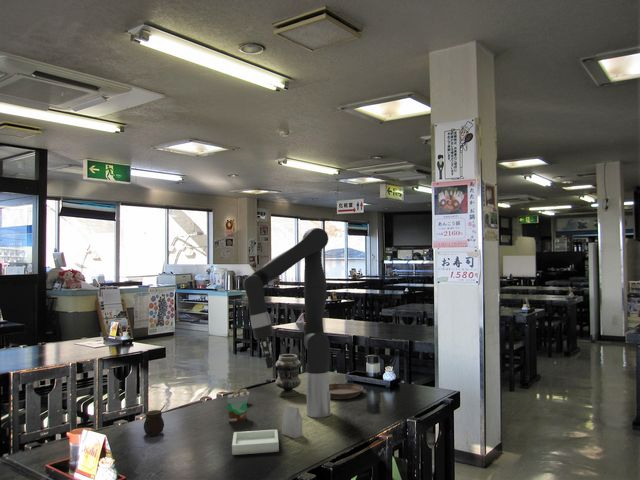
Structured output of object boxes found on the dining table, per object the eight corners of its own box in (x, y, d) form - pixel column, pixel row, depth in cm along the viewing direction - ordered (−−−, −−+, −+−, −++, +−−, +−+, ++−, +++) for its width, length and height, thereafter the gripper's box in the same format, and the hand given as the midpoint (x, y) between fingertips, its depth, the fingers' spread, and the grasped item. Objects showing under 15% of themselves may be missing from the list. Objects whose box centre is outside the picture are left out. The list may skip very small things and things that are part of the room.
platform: (264, 404, 223) (264, 389, 223) (227, 412, 212) (227, 396, 213) (251, 399, 233) (250, 384, 233) (214, 406, 222) (214, 391, 222)
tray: (277, 438, 178) (277, 429, 178) (278, 451, 165) (278, 442, 166) (234, 441, 176) (233, 432, 177) (232, 454, 164) (232, 445, 164)
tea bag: (294, 438, 178) (294, 409, 178) (282, 434, 183) (281, 405, 183) (302, 435, 180) (301, 407, 181) (290, 431, 185) (289, 403, 186)
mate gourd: (142, 432, 188) (142, 405, 188) (164, 429, 191) (163, 402, 191) (144, 438, 181) (143, 410, 182) (166, 435, 184) (165, 407, 185)
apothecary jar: (300, 397, 232) (299, 357, 233) (274, 397, 232) (273, 358, 233) (301, 390, 244) (301, 352, 245) (277, 391, 244) (276, 353, 245)
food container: (242, 424, 194) (242, 398, 195) (227, 424, 196) (227, 397, 196) (253, 415, 206) (252, 390, 207) (239, 414, 208) (238, 389, 208)
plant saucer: (322, 389, 247) (321, 382, 247) (364, 389, 244) (364, 382, 244) (315, 400, 226) (315, 393, 227) (362, 401, 224) (361, 393, 224)
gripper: (270, 324, 192) (280, 366, 191) (271, 321, 206) (279, 361, 205) (251, 328, 191) (260, 371, 190) (253, 326, 205) (261, 365, 204)
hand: (270, 366), depth 197 cm, fingers open, 8 cm apart
